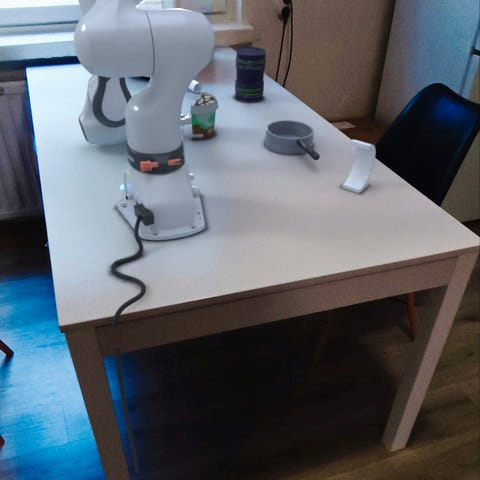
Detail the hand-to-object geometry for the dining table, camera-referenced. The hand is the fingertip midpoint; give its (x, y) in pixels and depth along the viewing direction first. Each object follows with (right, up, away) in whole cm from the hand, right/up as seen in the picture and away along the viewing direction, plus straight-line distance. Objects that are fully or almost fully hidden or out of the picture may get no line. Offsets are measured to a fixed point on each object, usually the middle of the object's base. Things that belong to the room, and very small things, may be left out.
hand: (190, 119), depth 138 cm
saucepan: (+28, -7, +1) cm, 28 cm away
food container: (+4, -3, +5) cm, 7 cm away
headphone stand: (+43, -22, -16) cm, 51 cm away
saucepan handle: (+32, -12, -9) cm, 35 cm away
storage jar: (+17, +17, +30) cm, 38 cm away
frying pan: (-12, +28, +41) cm, 52 cm away
